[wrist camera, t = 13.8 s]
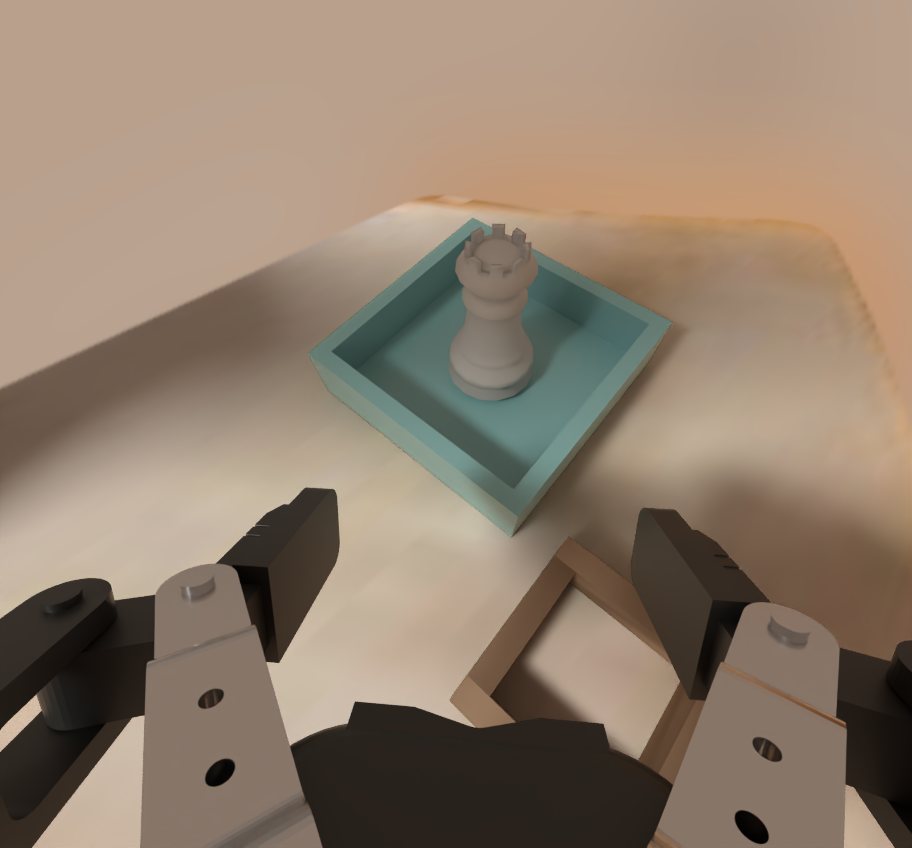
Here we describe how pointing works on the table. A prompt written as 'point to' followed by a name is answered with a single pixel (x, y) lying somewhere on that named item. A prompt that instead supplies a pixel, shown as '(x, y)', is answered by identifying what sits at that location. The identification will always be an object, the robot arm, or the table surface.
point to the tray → (484, 421)
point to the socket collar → (508, 643)
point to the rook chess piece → (493, 315)
